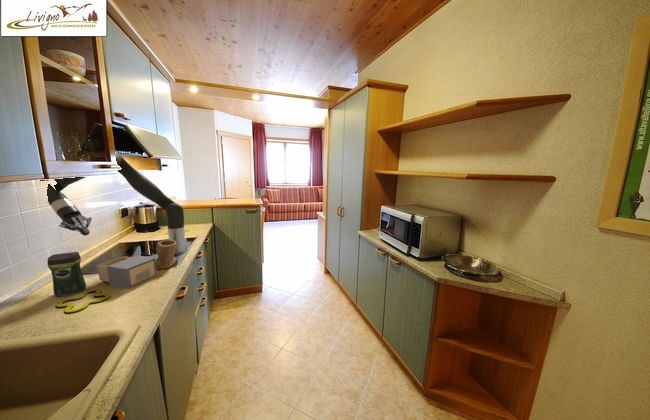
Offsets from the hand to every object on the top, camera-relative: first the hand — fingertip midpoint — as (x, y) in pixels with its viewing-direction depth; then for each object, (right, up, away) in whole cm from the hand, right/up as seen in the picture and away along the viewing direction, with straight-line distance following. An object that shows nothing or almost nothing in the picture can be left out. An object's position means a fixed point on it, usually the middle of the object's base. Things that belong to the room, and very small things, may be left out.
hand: (87, 234), depth 118 cm
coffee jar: (+7, -25, -14) cm, 30 cm away
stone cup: (+30, -20, +17) cm, 40 cm away
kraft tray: (+23, -22, -2) cm, 32 cm away
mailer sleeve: (+27, -23, -2) cm, 35 cm away
